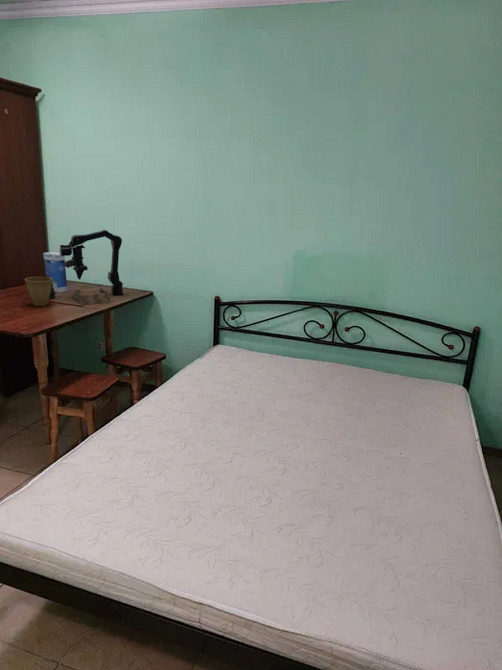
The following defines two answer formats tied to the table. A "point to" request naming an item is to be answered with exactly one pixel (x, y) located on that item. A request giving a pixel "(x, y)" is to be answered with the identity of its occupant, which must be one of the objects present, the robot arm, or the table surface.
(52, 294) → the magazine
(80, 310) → the table surface
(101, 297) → the crate
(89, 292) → the door
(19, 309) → the table surface
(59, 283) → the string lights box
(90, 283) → the table surface
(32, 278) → the plant pot
